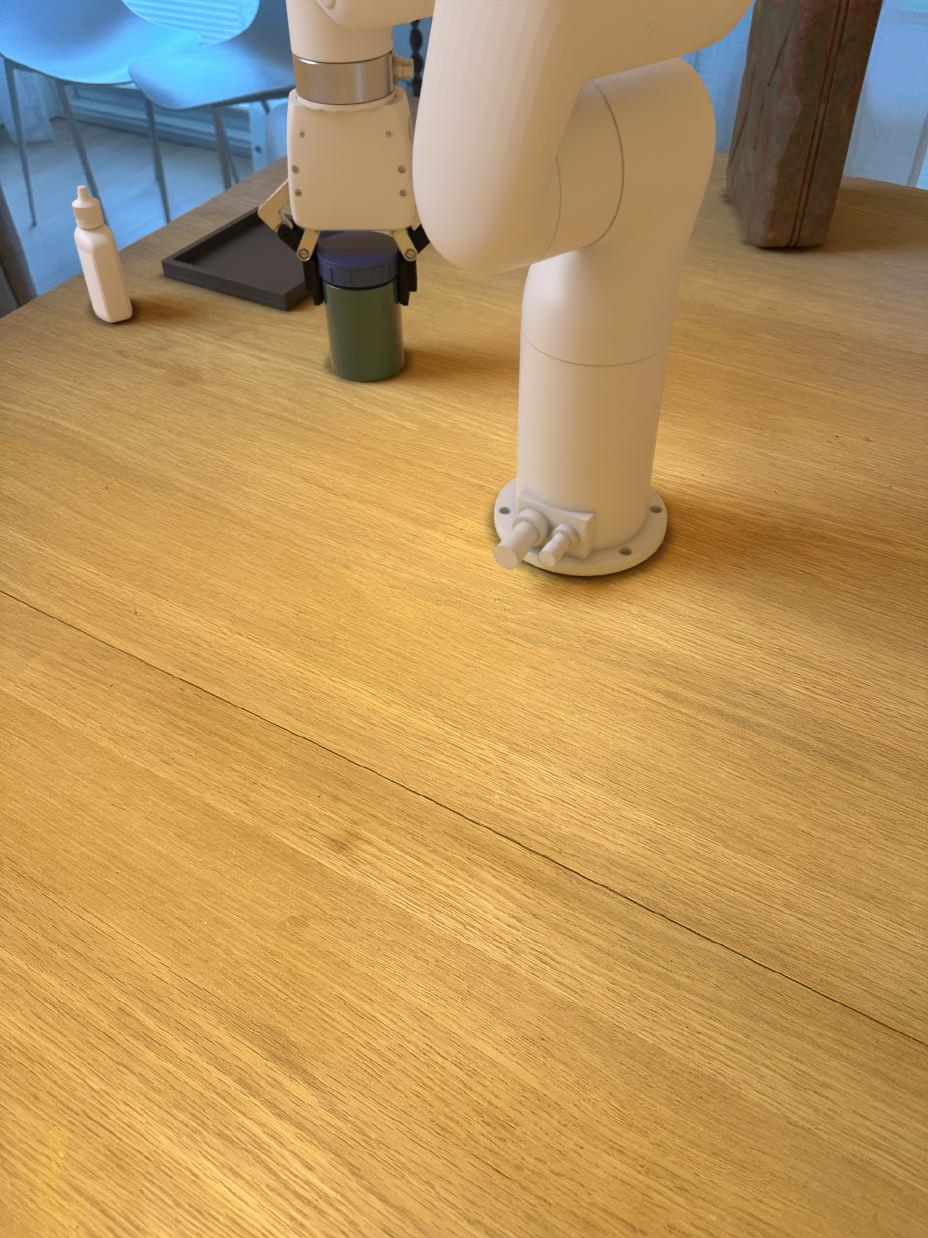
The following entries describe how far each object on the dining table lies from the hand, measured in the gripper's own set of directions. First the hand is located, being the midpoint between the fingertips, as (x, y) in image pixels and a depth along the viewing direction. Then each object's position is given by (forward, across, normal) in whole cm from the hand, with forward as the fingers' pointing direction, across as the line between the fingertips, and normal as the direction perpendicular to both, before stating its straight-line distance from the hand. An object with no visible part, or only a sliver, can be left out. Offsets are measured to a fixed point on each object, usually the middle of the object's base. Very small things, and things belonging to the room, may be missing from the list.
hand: (362, 296), depth 91 cm
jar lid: (-4, 0, 0) cm, 4 cm away
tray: (+6, +12, -20) cm, 24 cm away
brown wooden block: (+6, -42, -32) cm, 53 cm away
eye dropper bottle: (+6, +26, -9) cm, 28 cm away
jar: (+6, 0, 0) cm, 6 cm away
